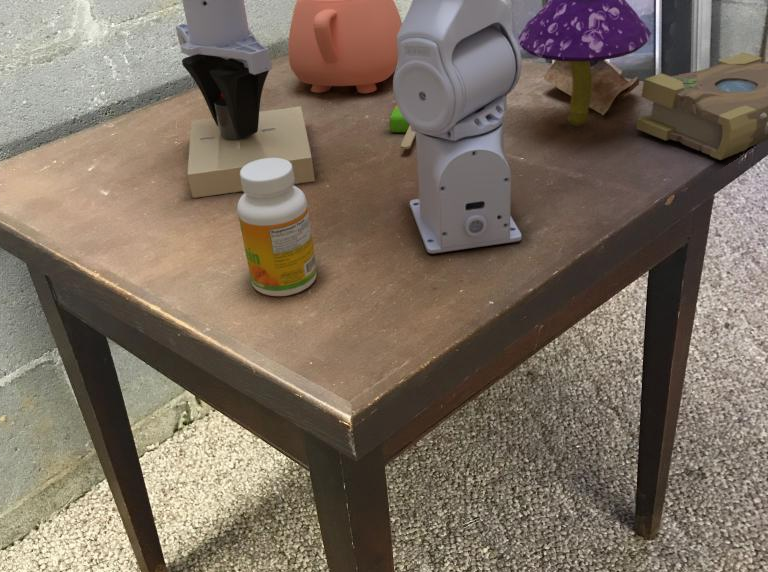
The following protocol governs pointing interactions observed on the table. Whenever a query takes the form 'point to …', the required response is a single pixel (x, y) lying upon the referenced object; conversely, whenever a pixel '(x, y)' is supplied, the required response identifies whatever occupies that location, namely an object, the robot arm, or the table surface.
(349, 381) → the table surface
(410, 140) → the popsicle
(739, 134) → the book
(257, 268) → the supplement bottle
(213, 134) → the beige flat block
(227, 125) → the knob
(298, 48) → the pink rounded body
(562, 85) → the crumpled paper bag
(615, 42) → the decorative mushroom
